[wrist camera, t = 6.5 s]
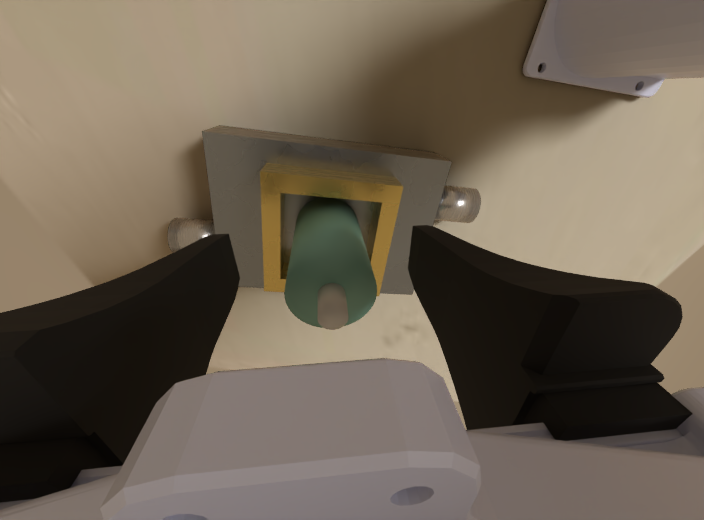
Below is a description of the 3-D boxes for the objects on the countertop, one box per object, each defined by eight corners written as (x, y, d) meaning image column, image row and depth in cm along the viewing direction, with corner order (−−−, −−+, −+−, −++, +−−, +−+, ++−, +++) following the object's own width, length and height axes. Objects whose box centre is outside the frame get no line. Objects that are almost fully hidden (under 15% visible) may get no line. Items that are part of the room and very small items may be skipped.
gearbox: (474, 157, 20) (517, 175, 15) (435, 275, 25) (459, 313, 20) (166, 118, 17) (114, 127, 12) (192, 261, 22) (161, 302, 17)
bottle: (352, 191, 17) (378, 266, 10) (362, 247, 19) (388, 343, 12) (288, 203, 17) (266, 287, 10) (304, 258, 19) (296, 361, 12)
